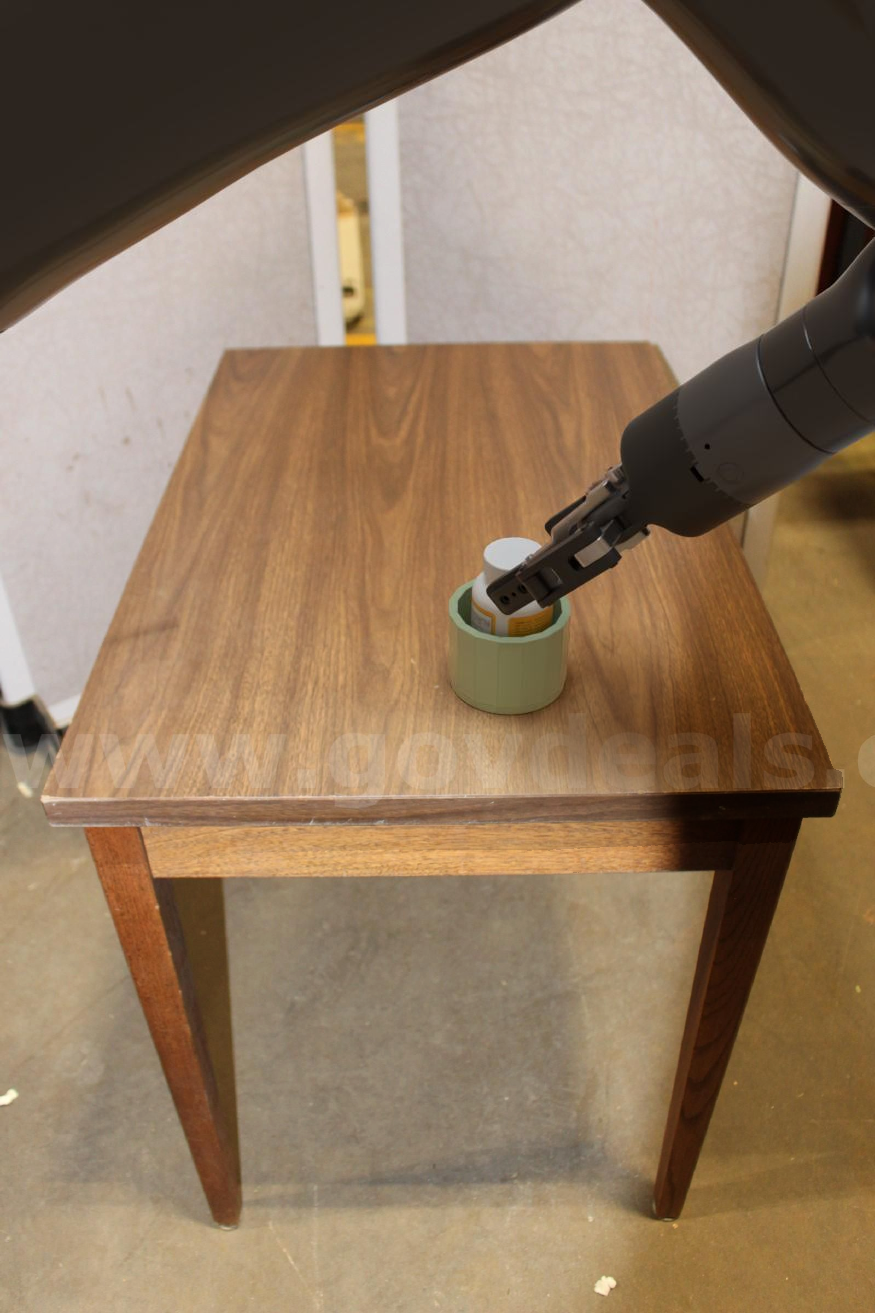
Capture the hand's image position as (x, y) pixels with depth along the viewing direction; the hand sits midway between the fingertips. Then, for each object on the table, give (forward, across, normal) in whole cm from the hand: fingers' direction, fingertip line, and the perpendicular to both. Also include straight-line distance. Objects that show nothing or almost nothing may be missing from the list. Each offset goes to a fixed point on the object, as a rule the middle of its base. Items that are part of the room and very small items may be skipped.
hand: (526, 567), depth 68 cm
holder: (+7, 0, +6) cm, 9 cm away
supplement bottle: (+7, 0, +6) cm, 9 cm away
